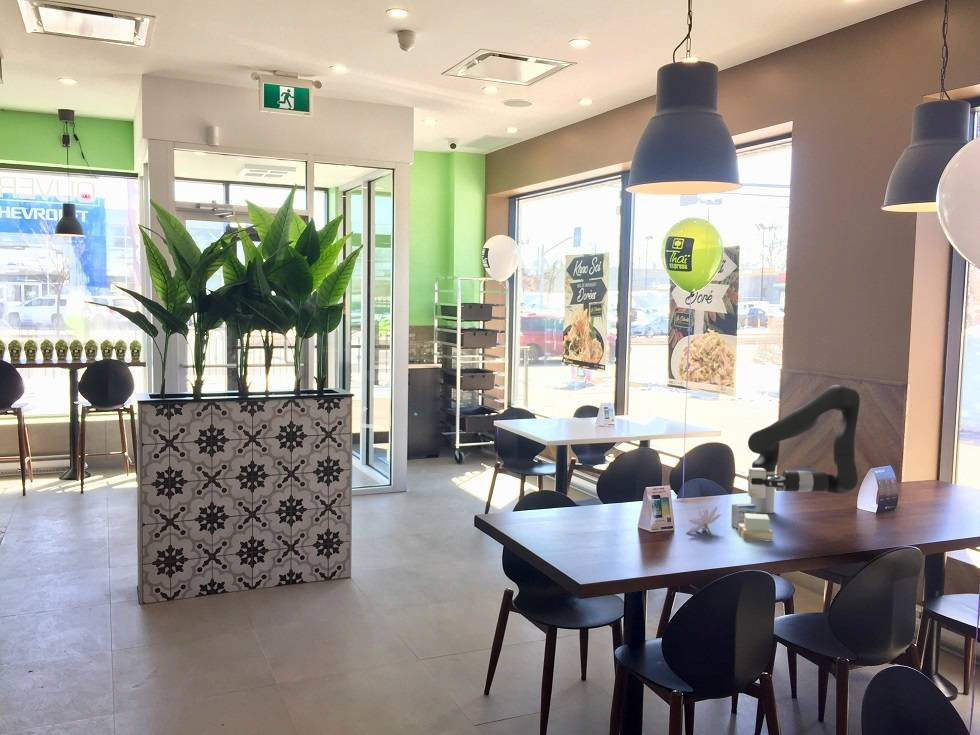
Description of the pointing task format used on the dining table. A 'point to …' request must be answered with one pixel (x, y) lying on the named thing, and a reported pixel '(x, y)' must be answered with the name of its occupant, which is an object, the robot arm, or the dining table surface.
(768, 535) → the tower base block
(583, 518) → the dining table surface
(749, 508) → the medicine box
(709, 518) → the water lily
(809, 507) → the dining table surface
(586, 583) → the dining table surface
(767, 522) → the tower top block
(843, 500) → the dining table surface
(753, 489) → the tall white block
